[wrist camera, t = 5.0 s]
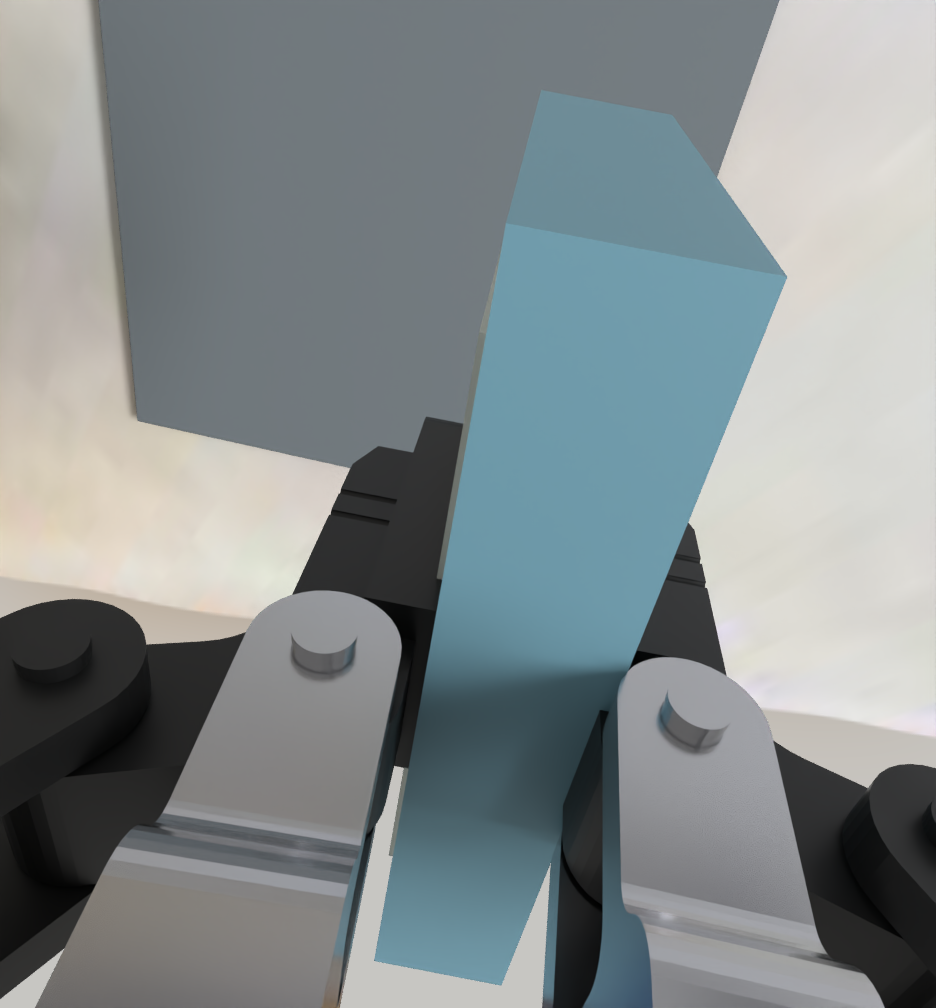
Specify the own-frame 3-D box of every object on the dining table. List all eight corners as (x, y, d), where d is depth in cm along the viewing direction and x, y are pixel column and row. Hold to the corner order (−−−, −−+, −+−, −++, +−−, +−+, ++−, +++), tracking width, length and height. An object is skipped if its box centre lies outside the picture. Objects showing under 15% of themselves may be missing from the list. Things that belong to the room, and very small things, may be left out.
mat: (77, -316, 18) (68, -321, 18) (828, -149, 18) (832, -151, 18) (142, 415, 30) (137, 420, 29) (595, 516, 30) (594, 522, 29)
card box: (535, 89, 9) (494, 221, 4) (672, 115, 9) (788, 276, 4) (438, 623, 14) (368, 959, 9) (525, 640, 14) (501, 985, 9)
